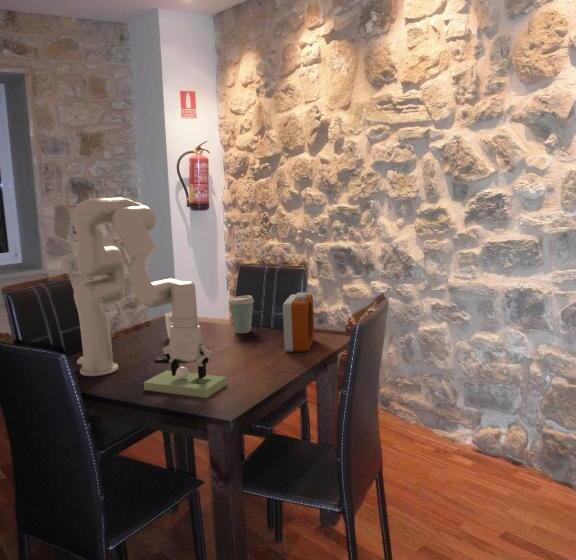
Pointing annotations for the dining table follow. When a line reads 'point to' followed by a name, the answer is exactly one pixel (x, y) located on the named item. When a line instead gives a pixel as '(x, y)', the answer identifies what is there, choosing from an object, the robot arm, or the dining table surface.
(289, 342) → the orange and grey box
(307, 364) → the dining table surface
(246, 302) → the disposable coffee cup
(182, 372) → the ball
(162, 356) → the terrain model
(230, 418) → the dining table surface
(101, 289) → the robot arm
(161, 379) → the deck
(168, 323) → the white cup
